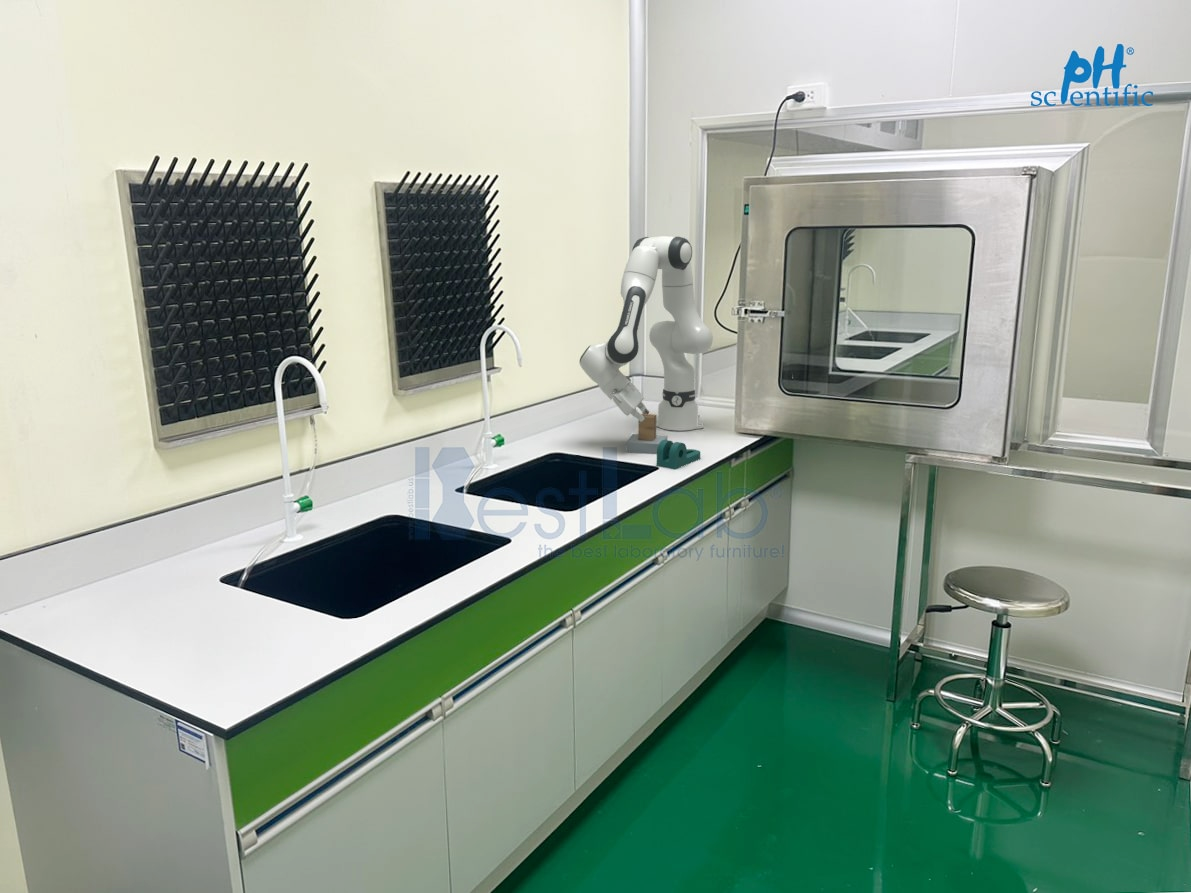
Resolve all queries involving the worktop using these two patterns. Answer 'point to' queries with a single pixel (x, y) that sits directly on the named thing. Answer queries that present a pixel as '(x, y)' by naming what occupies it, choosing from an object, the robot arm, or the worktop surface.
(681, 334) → the robot arm
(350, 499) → the worktop surface
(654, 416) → the walnut block
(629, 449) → the slate base
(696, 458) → the bracket
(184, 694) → the worktop surface
